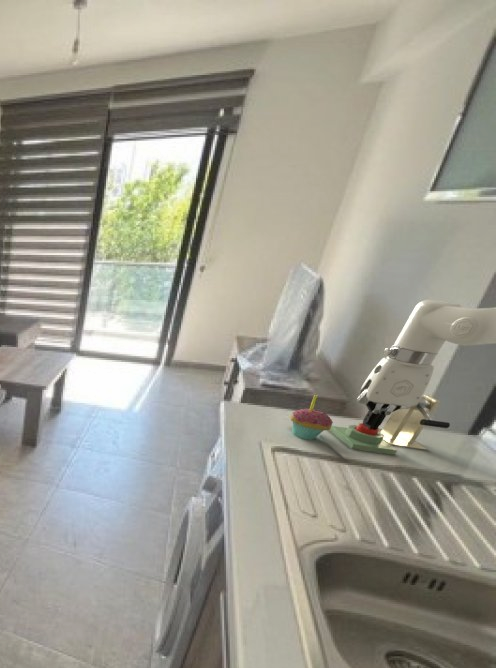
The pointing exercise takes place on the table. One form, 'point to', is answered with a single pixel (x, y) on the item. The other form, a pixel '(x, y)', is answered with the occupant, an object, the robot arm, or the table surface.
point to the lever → (429, 415)
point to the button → (366, 430)
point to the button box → (362, 440)
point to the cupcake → (310, 422)
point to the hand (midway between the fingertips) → (369, 426)
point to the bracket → (407, 425)
